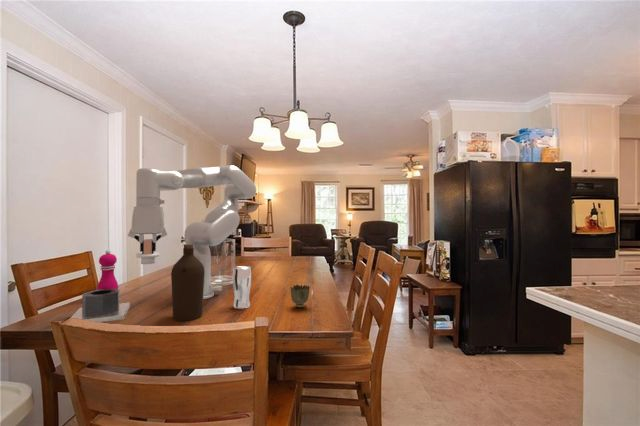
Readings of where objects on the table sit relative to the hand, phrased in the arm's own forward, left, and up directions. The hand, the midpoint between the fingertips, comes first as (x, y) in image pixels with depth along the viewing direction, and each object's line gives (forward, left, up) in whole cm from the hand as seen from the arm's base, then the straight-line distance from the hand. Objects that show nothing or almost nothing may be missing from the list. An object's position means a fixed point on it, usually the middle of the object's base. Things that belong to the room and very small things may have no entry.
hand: (147, 253), depth 108 cm
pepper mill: (+16, -24, -21) cm, 36 cm away
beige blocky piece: (0, 0, -4) cm, 4 cm away
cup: (-52, +19, -21) cm, 59 cm away
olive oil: (-13, +12, -21) cm, 28 cm away
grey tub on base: (+14, -1, -21) cm, 25 cm away
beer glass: (-32, +9, -21) cm, 39 cm away
